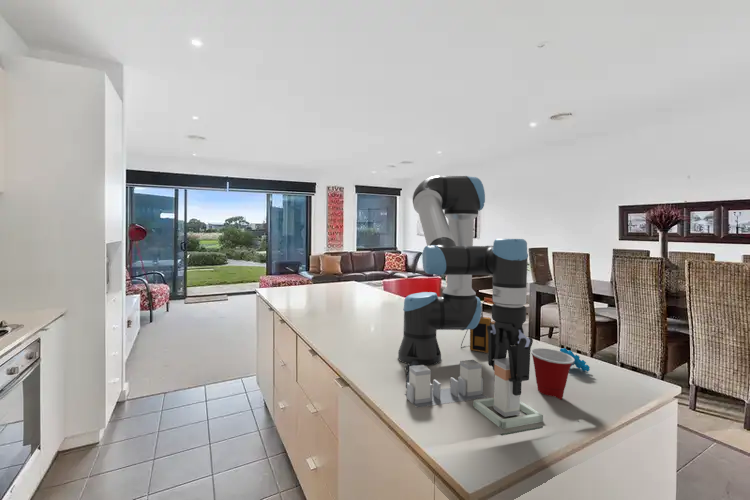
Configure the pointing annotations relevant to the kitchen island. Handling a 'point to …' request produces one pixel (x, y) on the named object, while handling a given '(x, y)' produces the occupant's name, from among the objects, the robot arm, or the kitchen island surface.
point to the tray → (509, 422)
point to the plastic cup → (551, 370)
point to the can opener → (414, 363)
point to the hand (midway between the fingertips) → (506, 402)
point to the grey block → (420, 383)
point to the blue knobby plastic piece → (576, 360)
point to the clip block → (445, 393)
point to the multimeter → (480, 334)
